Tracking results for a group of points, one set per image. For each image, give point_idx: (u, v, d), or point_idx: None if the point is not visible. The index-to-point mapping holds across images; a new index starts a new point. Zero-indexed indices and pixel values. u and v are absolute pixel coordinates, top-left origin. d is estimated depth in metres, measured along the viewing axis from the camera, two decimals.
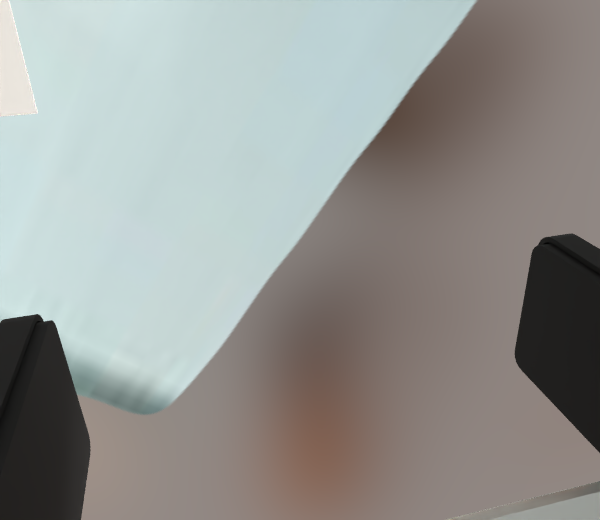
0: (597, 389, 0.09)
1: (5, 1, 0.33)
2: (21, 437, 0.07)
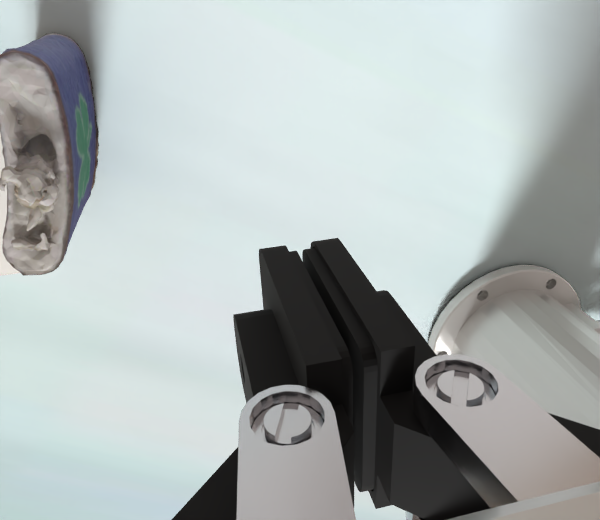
0: None
1: None
2: None
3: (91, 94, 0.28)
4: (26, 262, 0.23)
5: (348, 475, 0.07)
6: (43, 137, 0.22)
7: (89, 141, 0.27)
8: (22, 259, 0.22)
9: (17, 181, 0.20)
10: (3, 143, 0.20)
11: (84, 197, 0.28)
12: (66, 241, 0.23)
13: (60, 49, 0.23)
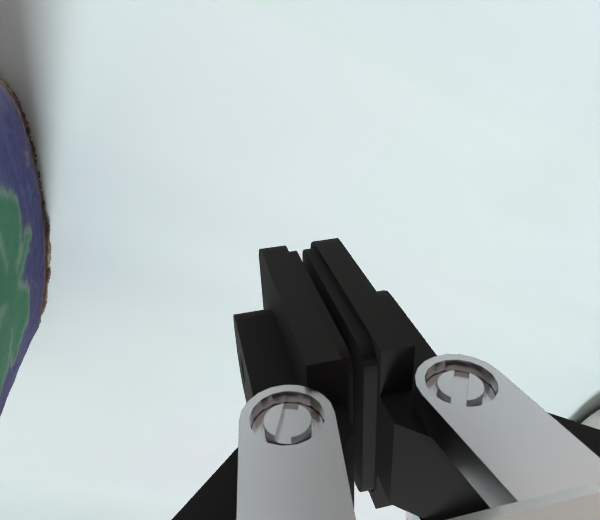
0: None
1: None
2: None
3: (32, 170, 0.16)
4: None
5: (348, 475, 0.07)
6: None
7: (24, 262, 0.15)
8: None
9: None
10: None
11: (20, 353, 0.16)
12: None
13: None
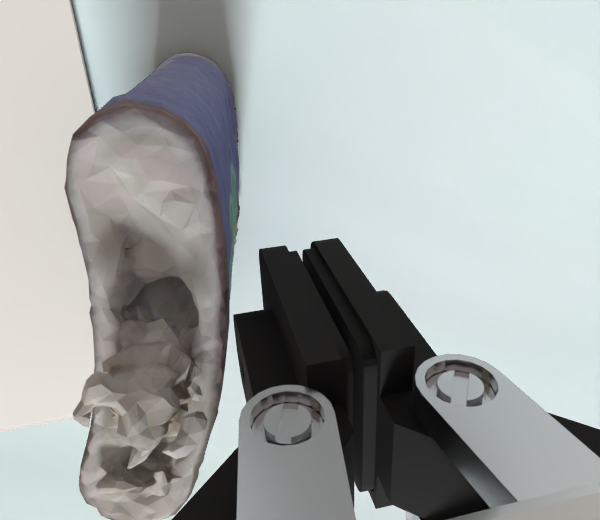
0: None
1: None
2: None
3: (237, 154, 0.16)
4: (122, 505, 0.11)
5: (348, 475, 0.07)
6: None
7: None
8: (115, 500, 0.11)
9: (118, 407, 0.08)
10: (92, 299, 0.09)
11: None
12: (199, 466, 0.12)
13: (206, 86, 0.12)
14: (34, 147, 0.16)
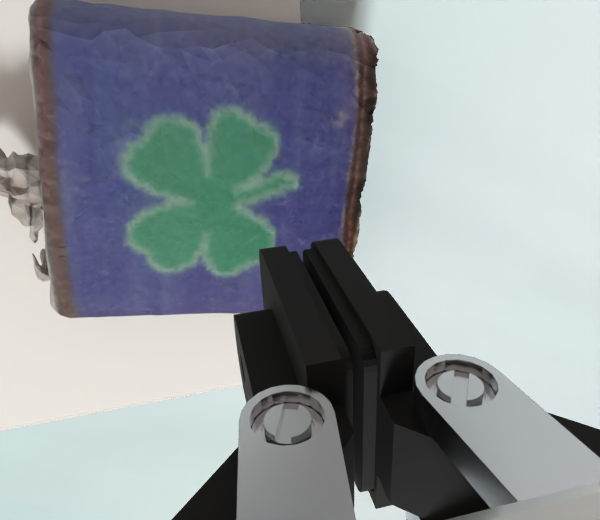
0: None
1: (88, 411, 0.20)
2: None
3: (344, 134, 0.15)
4: None
5: (348, 475, 0.07)
6: None
7: (263, 197, 0.15)
8: None
9: None
10: None
11: (250, 282, 0.17)
12: (61, 286, 0.15)
13: (217, 26, 0.14)
14: None
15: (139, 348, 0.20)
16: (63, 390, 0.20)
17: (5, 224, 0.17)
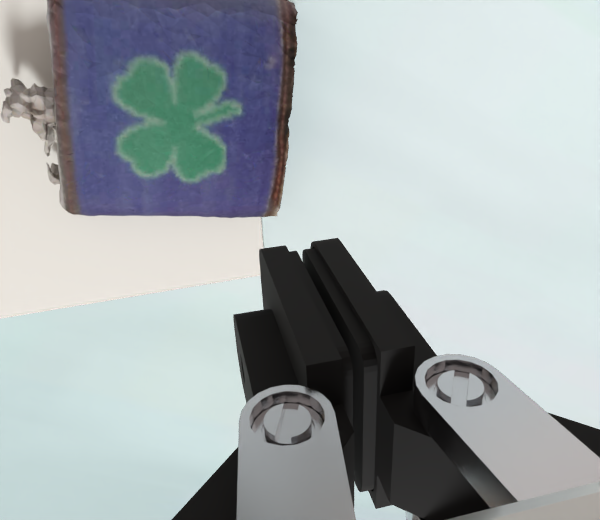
0: None
1: (86, 301, 0.26)
2: None
3: (274, 74, 0.21)
4: None
5: (348, 475, 0.07)
6: None
7: (216, 120, 0.21)
8: None
9: None
10: None
11: (208, 187, 0.23)
12: (69, 186, 0.21)
13: None
14: None
15: (125, 249, 0.25)
16: (67, 283, 0.25)
17: (23, 145, 0.22)
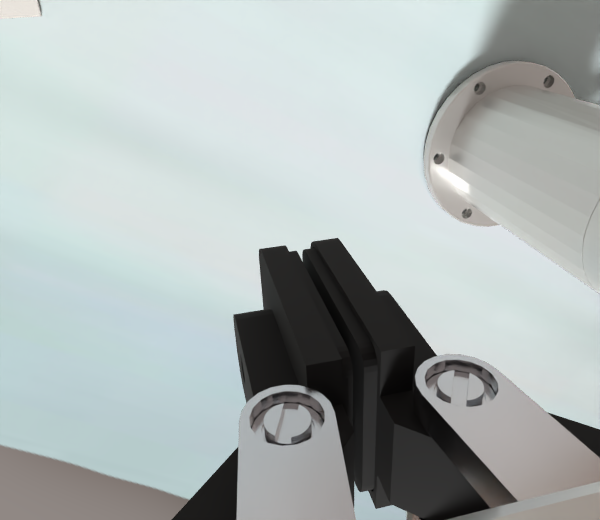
0: None
1: None
2: None
3: None
4: None
5: (348, 475, 0.07)
6: None
7: None
8: None
9: None
10: None
11: None
12: None
13: None
14: None
15: None
16: None
17: None
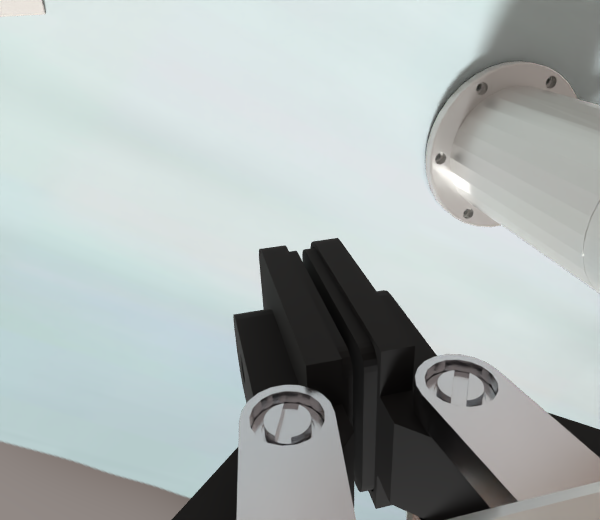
0: None
1: None
2: None
3: None
4: None
5: (348, 475, 0.07)
6: None
7: None
8: None
9: None
10: None
11: None
12: None
13: None
14: None
15: None
16: None
17: None
